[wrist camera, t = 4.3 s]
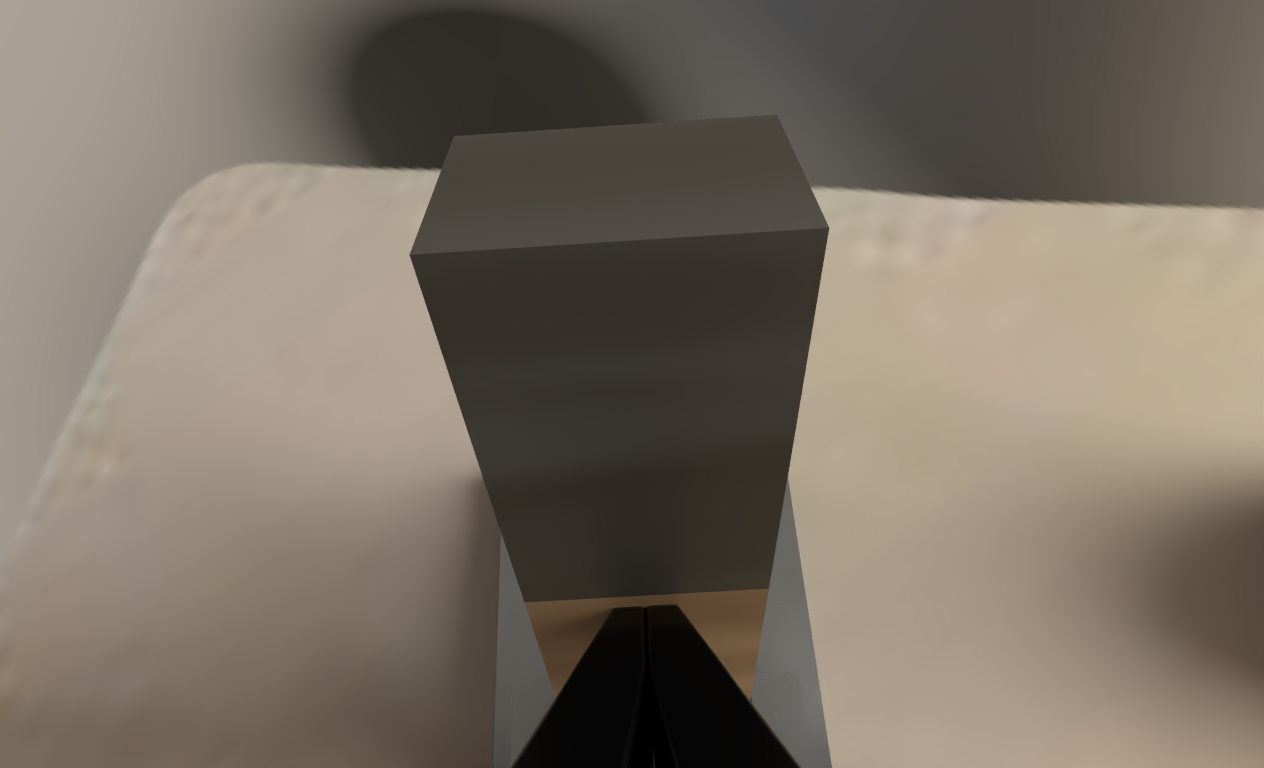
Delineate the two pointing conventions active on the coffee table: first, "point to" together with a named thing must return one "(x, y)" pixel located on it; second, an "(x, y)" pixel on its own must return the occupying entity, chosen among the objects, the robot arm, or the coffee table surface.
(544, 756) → the robot arm
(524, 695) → the base
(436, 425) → the coffee table surface
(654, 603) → the lever
